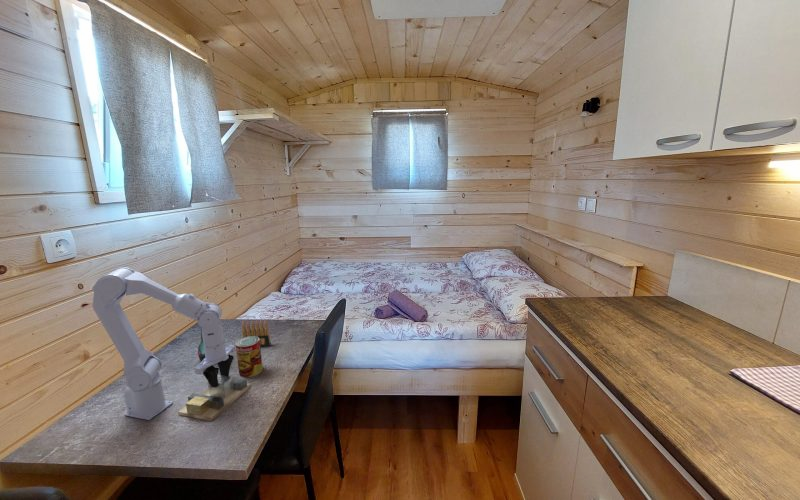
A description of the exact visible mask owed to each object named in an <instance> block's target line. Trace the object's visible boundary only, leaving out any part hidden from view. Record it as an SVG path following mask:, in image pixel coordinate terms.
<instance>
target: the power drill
mask: <svg viewBox="0 0 800 500" xmlns="http://www.w3.org/2000/svg"><path fill="white" fill-rule="evenodd" d="M197 355H198V359H199V361H200V363H201V362H202V361H203V360H204V358H205V351H204V344H203V337H202V328H201V327H200V343H199V344H198V347H197Z"/></svg>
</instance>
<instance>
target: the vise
mask: <svg viewBox="0 0 800 500" xmlns="http://www.w3.org/2000/svg"><path fill="white" fill-rule="evenodd" d="M229 376H230V377H233V383H234V391H233V392H232V393H231V394H230V395H229V396H228V397H226V398H223V401H224V406H222V407H221V408H220V409H214V408H210V409H209V410H208V411H207V412H205V413H204V414H203V415H202V416H200V415H195V414H189V413H187V408H186V405H184V406H183V407H182V408H180V410H178V411H177V414H178V416H184V417H189V418H195V419H199V420H204V421H205V420H206V421H212V422H213V421H214V420H215V419H216V418H217V417H219V415H221V414H222V412H224V411H225V410H226V409H227V408H228V407H230V406H231V405H232V404H233V403H234V402H235V401H236V400H237V399H239V398H240V397H241V396H242V395H243V394H244V393H246V391H248V390H249V389H250V388H251V386H252V385H251V384H252V383H248V381H247V378H245V377H239V376H238V377H237V376H231V375H229ZM200 394H201V395H207V396H210V395H209V389H208V388H207V389H206V390H205V391H203V392H201V393H200ZM213 397H215V396H213ZM220 398H221V397H220Z"/></svg>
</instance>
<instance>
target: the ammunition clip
mask: <svg viewBox="0 0 800 500" xmlns="http://www.w3.org/2000/svg"><path fill="white" fill-rule="evenodd" d="M263 322H264V323H263ZM268 325H269V324H268V321H267V319H265V318H264V321H263V320H262V319H260V320H259V321H258V320H257V319H256V320H255V323H254V320H253V319H252V320H251V322H250V321H249V320H247V321H246V323H245V320H242V322H241V334H242V338H244V337H248V336H256V337H258V338H259V340H260V348H268V347H270V346H271V345H272V342H271V335H270V332H269V330H270V329H269V326H268Z"/></svg>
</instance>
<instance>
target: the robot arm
mask: <svg viewBox="0 0 800 500" xmlns="http://www.w3.org/2000/svg"><path fill="white" fill-rule="evenodd" d="M91 289H92V291H93V298H92V308H93V311H94V312H95V314H96V316H97V317H98V320H99V321H100V322H101V324H102V326H103V328H104V329H105V331H106V333H107V334H108V335H109V338H110V339H111V341H112V343H113V344H114V346H115V348H116V349H117V352H118V353H119V355H120V356H121V358H122V360H123V361H124V363H123V374H124V375H125V384H126V387H125V390H124V401H125V406H126V411H127V412H125V413H124V416H127V417H132V418H136V419H141V420H142V419H143V420H147V421H149V420H151V419H153V418H154V417H156V416H157V415H158V414H160V413H162V412H163V411H164V410H166V409H167V408H168V407H170V406H171V405H172V404H173V403H174V402H173V400H166V399H165V393H164V387H163V382H162V376H161V375H160V372H159V371H160V370H162V365H163V364H162V363H163V362H162V360H161V359H160V358H158V357H157V356H155V355H154V353H153V352H152V351H151V350H148V349H146V348H145V347H144V345H143V343H142V341H141V340H140V338H139V336H138V334H137V332H136V330H135V329H134V327H133V325H132V323H131V321H130V319H129V318H128V316H127V315H126V313H125V312H124V309H123V307H122V305H121V304H120V303H121V301H122V300H123V298H124V296H125V295H126V296H131V295H137V294H138V295H139V294H143V295H145V296H149V297H150V298H153V299H156V300H159V301H160V302H163V303H165V304H169V305H171V308H172V310H173V311H174V312H176V313H178V314H180V315H183V316H184V317H187V318H190V319H191V320H194V321H197V324H198V326H199V327H200V329H201V328H202V337H203V344H204V351H205V358H204V360H203V361H202V362H201V361H200V363H199V364H198V365H197V366H196V367H194V372H195V375H203V376H204V378H206V380H207V383H208V382H209V384H210V386H211V387H215V388H216V387H217V386H218V375H223V376H230V370H231V365H232V363H233V361H234V355H232V354H231V353H234V352H236V345H233V344H229V345H228V346H226V344H225V342H226V341H225V336H224V328H223V323H222V319H221V318H222V315H223V310H222V308H221V306H219V305H218V304H217V303H214V302H211V303H210V301H209V302H208V301H206V302H205V301H203V300H201V299H198V298H197V297H195V296H196V295H195V294H193V293H189V294H188V293H181V294H180V293H179V294H178V293H177V292H175V291H173V290H170V288H168V287H165V286H164V285H162V284H160V283H158V282H156V281H154V280H152V279H150V278H149V277H147V276H145V274H143V273H142V272H139V271H134V269H132V268H130V267H124V266H121V267H117V268H115V269H114V270H113V271H111V272H109V273H108V274H105V275H102V276H101V277H99V278H98V279H97V281H96V282H95V284H94V285H93V286H92V288H91ZM230 354H231V355H230ZM216 364H217V366H218V367H215V365H216Z"/></svg>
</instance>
